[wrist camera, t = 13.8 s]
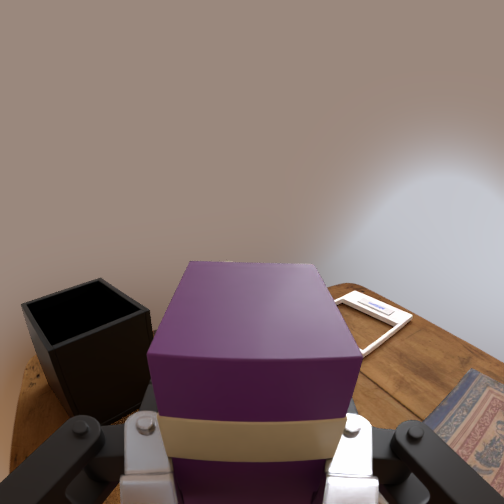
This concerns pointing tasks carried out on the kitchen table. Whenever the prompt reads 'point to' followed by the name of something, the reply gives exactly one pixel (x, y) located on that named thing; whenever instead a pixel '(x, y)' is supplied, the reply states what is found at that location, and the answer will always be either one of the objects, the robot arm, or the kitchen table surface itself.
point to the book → (473, 426)
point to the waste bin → (92, 348)
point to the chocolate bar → (252, 381)
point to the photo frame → (376, 315)
